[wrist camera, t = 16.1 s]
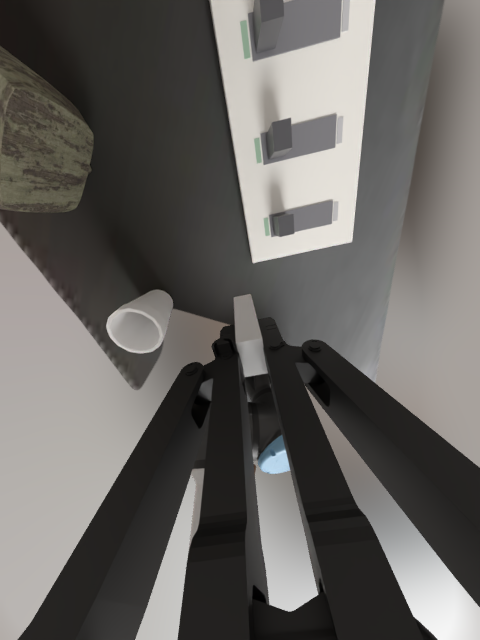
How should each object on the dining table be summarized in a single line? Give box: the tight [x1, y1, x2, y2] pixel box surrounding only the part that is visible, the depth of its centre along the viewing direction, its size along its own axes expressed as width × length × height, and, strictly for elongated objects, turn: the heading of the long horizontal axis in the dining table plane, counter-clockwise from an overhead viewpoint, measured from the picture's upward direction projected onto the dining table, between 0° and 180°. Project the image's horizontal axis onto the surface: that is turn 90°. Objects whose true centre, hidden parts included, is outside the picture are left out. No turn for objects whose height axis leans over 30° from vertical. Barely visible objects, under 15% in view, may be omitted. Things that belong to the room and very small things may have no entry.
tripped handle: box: [266, 118, 292, 160], centre depth 27 cm, size 3×2×4 cm
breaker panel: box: [209, 0, 375, 263], centre depth 30 cm, size 34×20×3 cm, turn 11°
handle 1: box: [253, 0, 284, 53], centre depth 22 cm, size 3×2×4 cm
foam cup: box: [106, 289, 173, 353], centre depth 38 cm, size 10×9×13 cm
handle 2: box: [272, 214, 294, 237], centre depth 32 cm, size 3×2×4 cm
